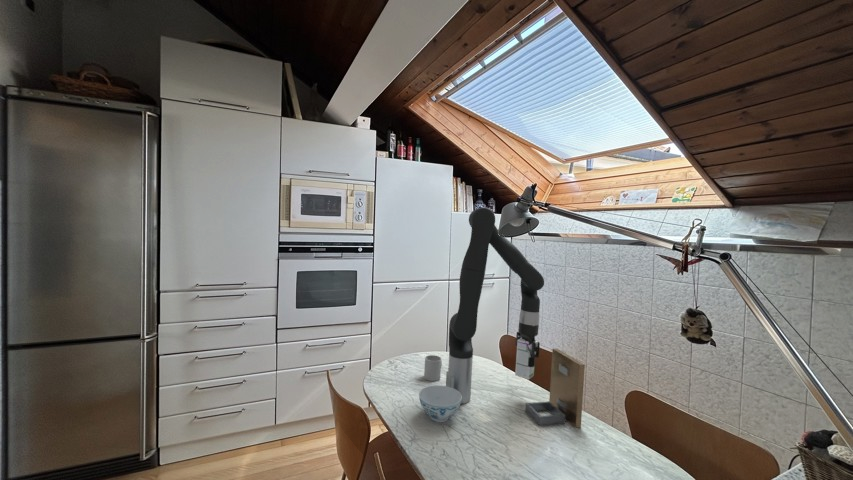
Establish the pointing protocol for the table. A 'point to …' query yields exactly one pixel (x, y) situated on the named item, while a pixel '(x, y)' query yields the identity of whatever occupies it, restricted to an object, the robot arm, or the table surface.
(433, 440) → the table surface
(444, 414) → the chinaware
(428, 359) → the cup
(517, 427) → the table surface
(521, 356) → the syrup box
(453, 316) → the robot arm
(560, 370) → the wooden board with tray
